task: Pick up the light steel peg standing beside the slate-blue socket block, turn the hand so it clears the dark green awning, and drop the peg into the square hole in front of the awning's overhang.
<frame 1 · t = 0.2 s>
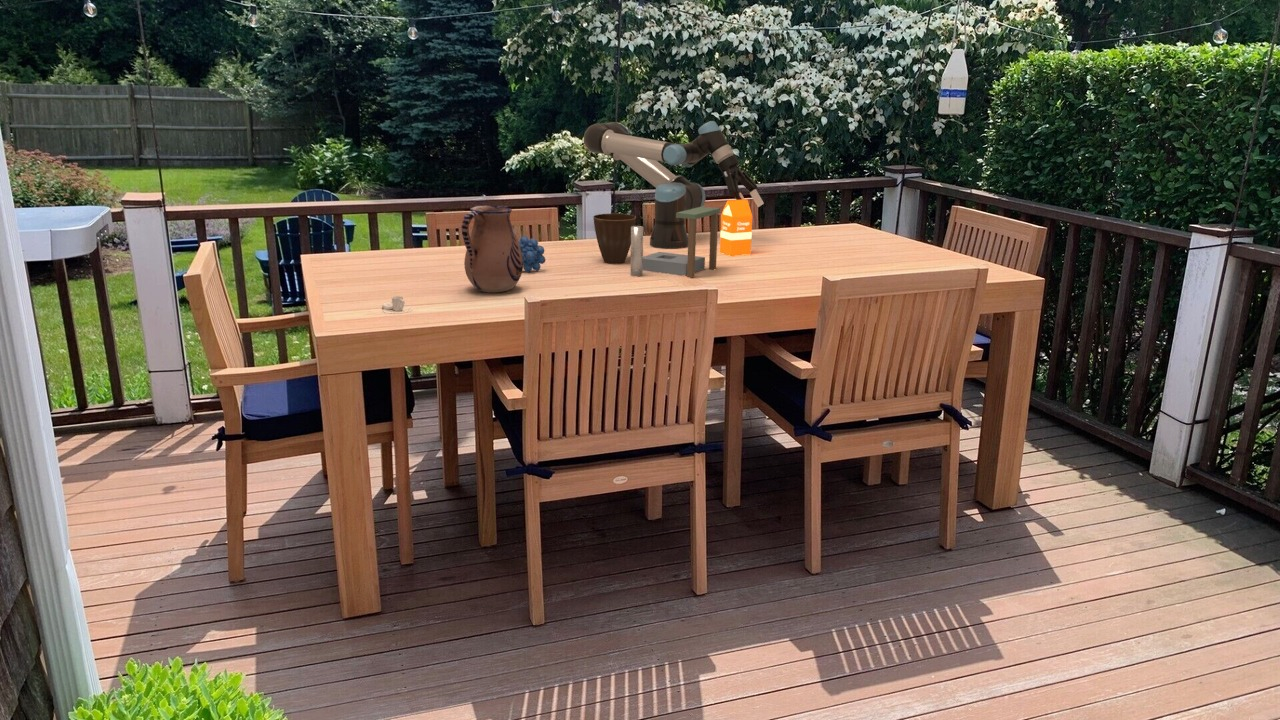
hand: (753, 207, 350), 15 cm above the table, tool tilted 35°, fingers open, 13 cm apart
plant pot: (614, 262, 325), on the table
steel peg: (636, 275, 304), on the table
teacup and saucer: (401, 309, 259), on the table
awning: (696, 272, 309), on the table
grapes: (529, 273, 306), on the table
socket block: (671, 269, 314), on the table
ceramic pitcher: (491, 291, 280), on the table
orange juice: (735, 254, 342), on the table
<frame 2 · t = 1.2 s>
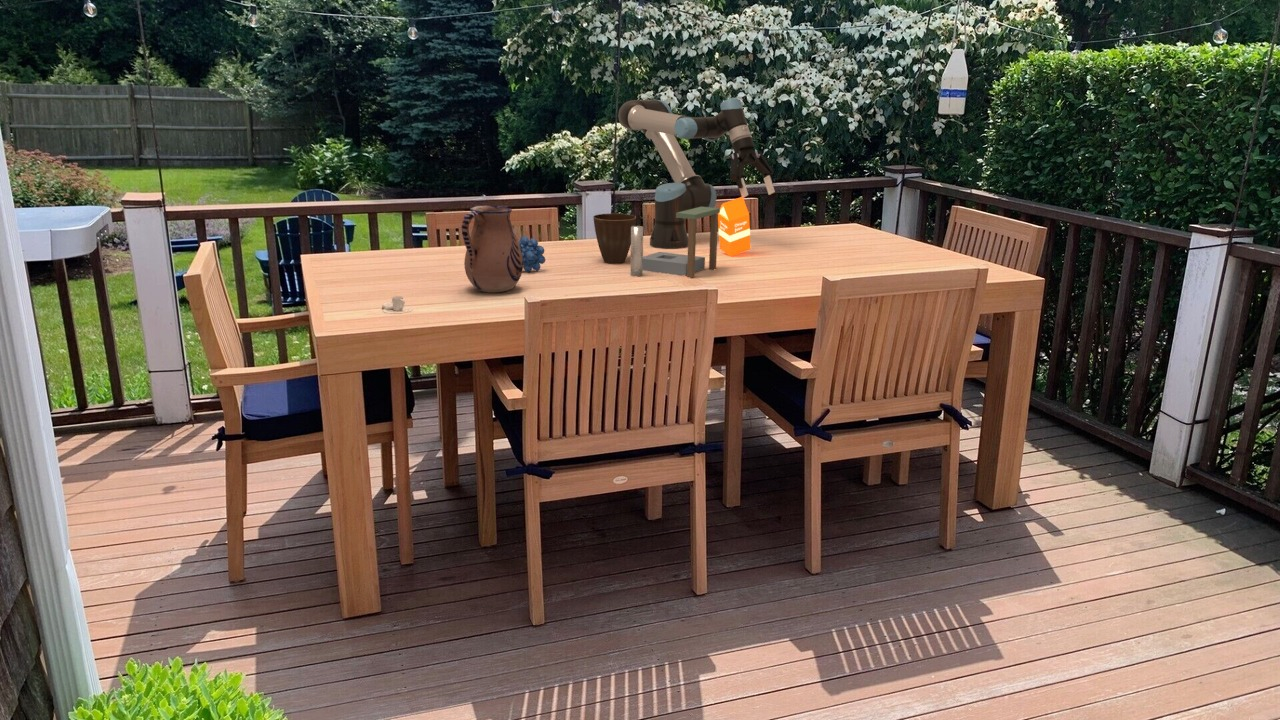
hand: (758, 195, 335), 22 cm above the table, tool tilted 30°, fingers open, 13 cm apart
orange juice: (735, 249, 342), point 2 cm above the table
everything else where it was.
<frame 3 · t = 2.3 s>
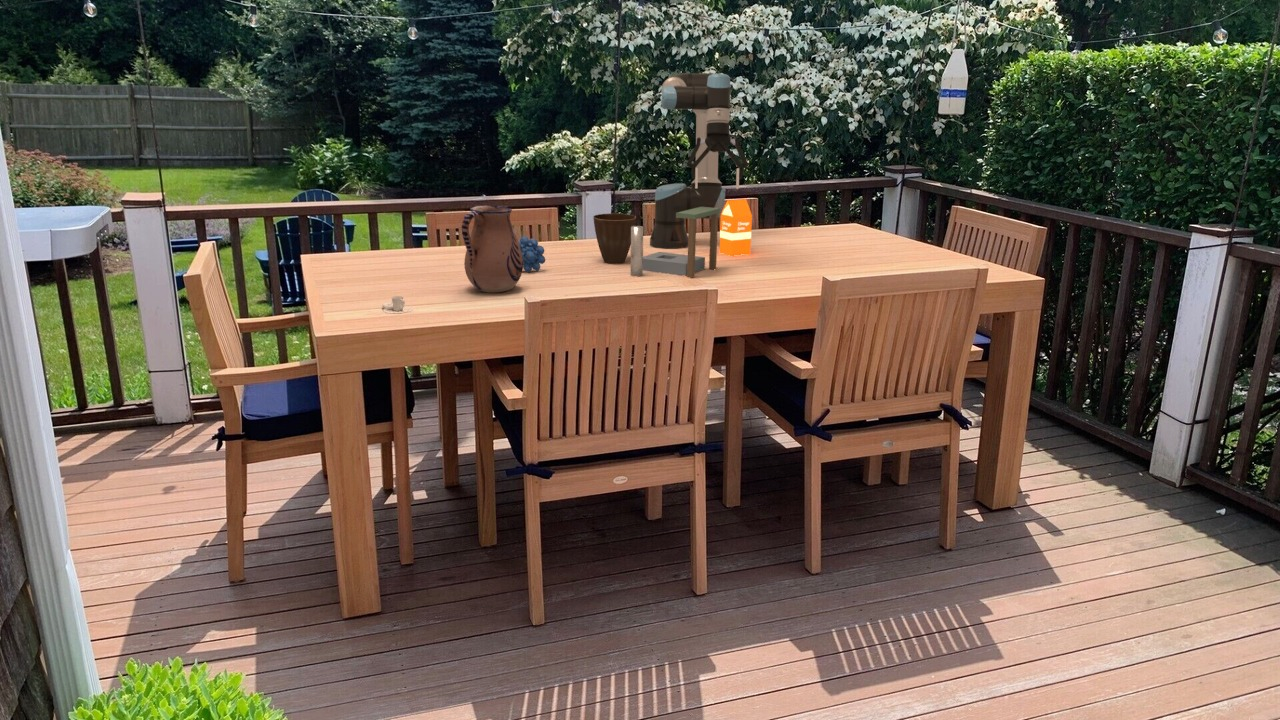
hand: (716, 188, 306), 27 cm above the table, tool pointing down, fingers open, 13 cm apart
orange juice: (734, 254, 343), on the table
everything else where it was.
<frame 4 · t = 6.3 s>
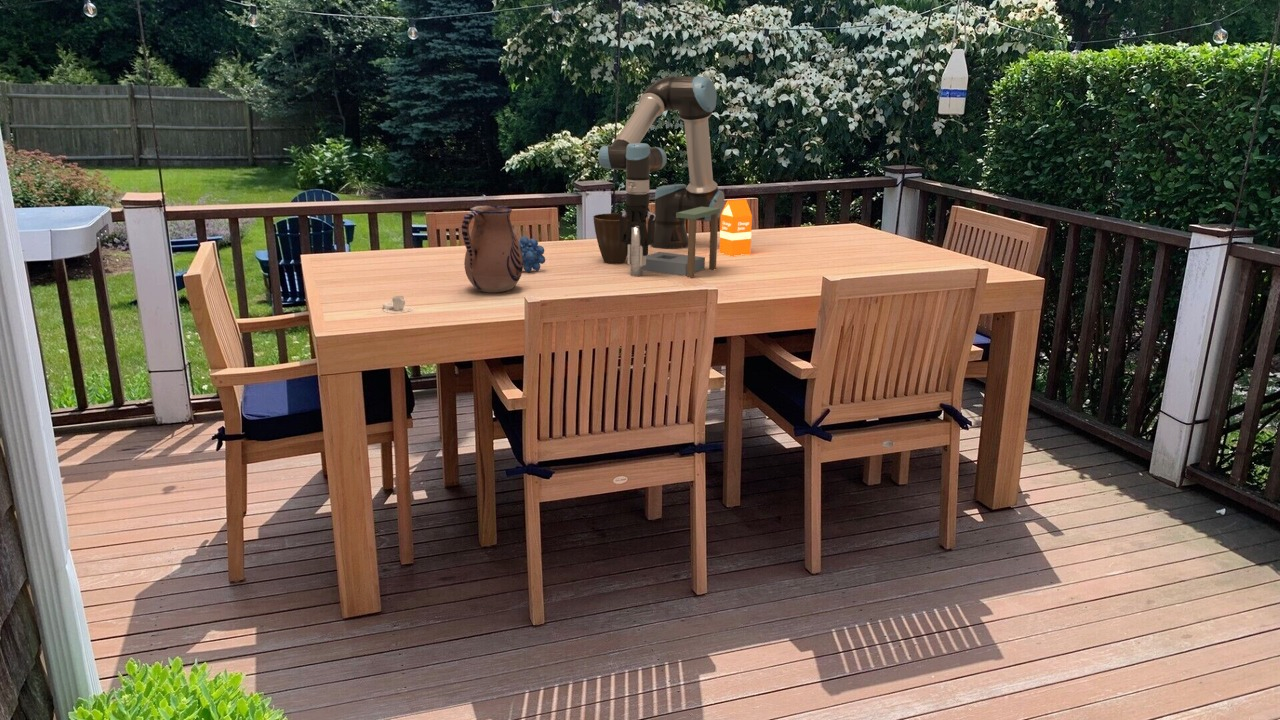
hand: (636, 264, 303), 4 cm above the table, tool pointing down, fingers closed on steel peg, 4 cm apart
steel peg: (636, 275, 304), on the table, touching gripper
everything else where it was.
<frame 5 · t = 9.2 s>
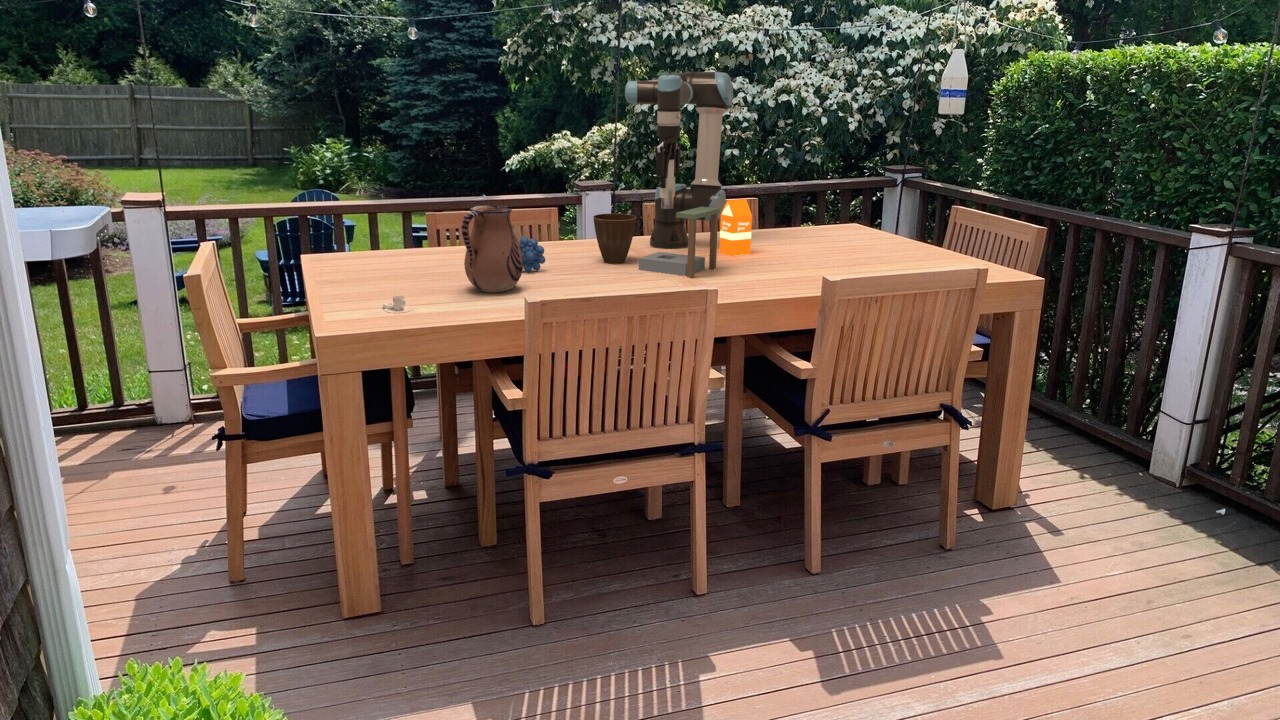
hand: (667, 197, 308), 24 cm above the table, tool pointing down, fingers closed on steel peg, 4 cm apart
steel peg: (667, 208, 309), point 21 cm above the table, touching gripper
everything else where it was.
when the fingers open (7 cm above the table, at t = 12.3 s): steel peg drops 2 cm, resting in socket block.
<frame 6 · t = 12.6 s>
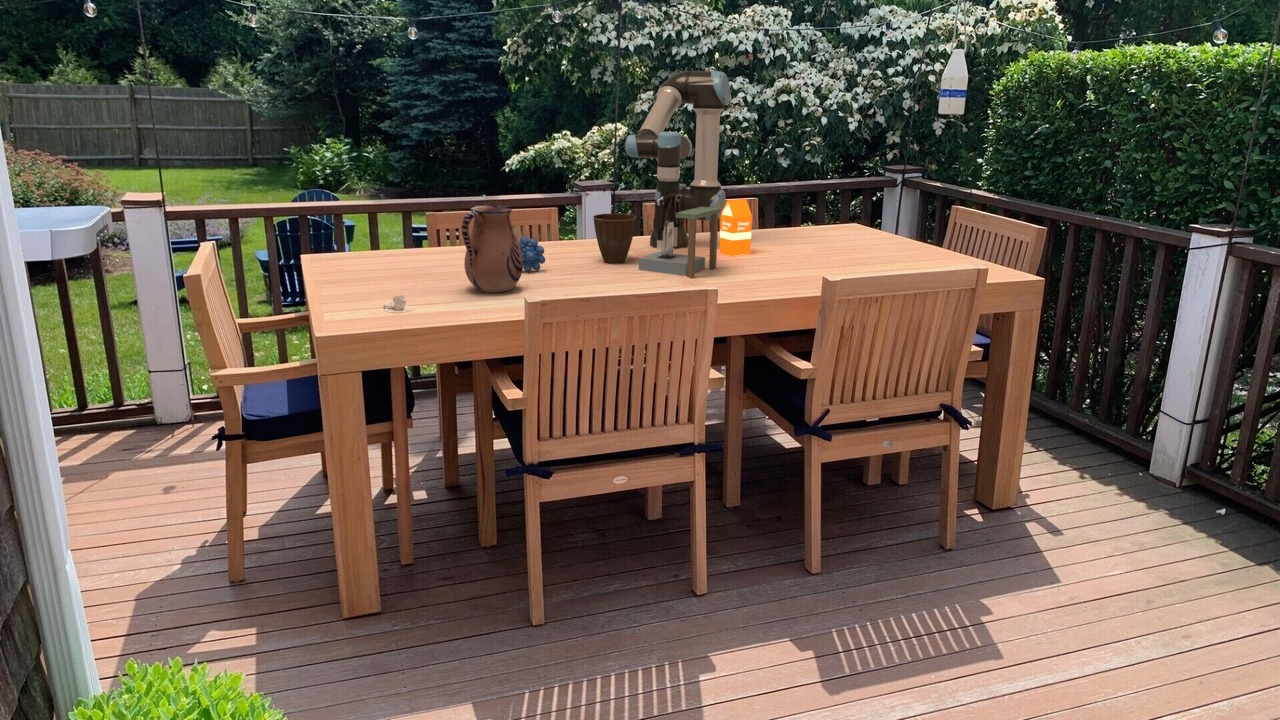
hand: (667, 247, 313), 7 cm above the table, tool pointing down, fingers open, 8 cm apart
steel peg: (666, 268, 315), resting in socket block
everything else where it was.
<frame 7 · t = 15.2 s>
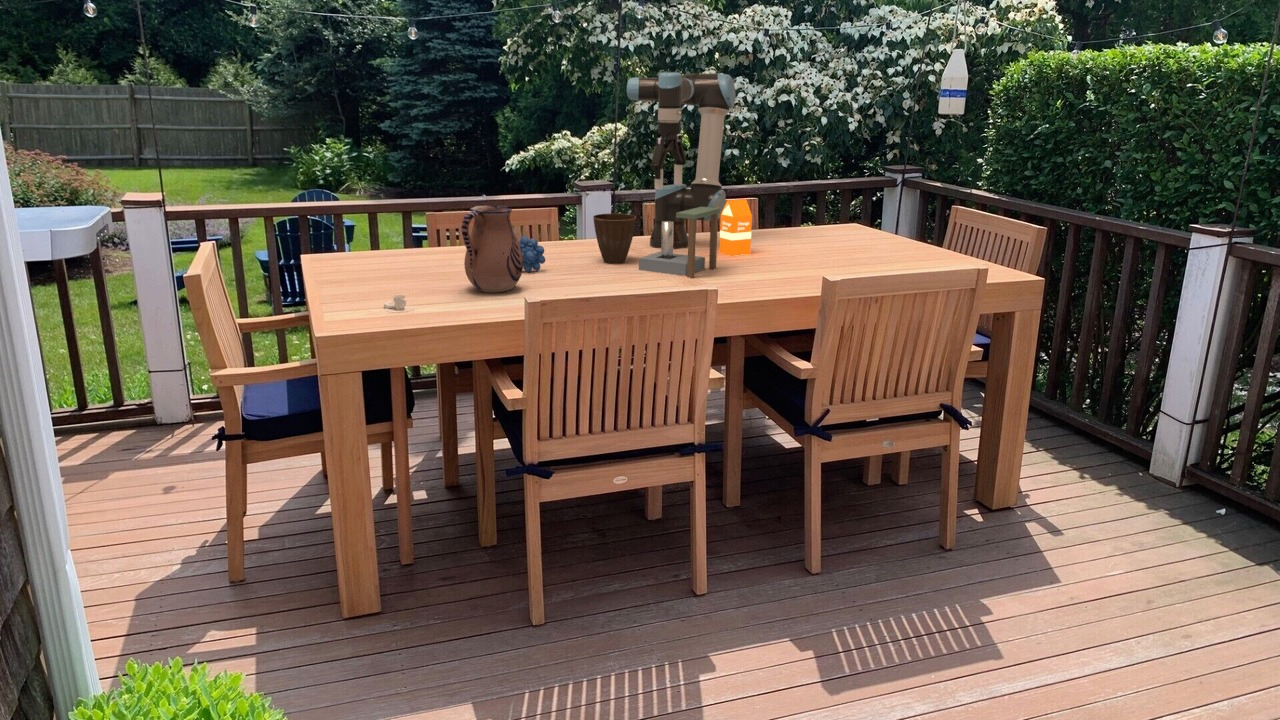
hand: (668, 186, 310), 27 cm above the table, tool pointing down, fingers open, 13 cm apart
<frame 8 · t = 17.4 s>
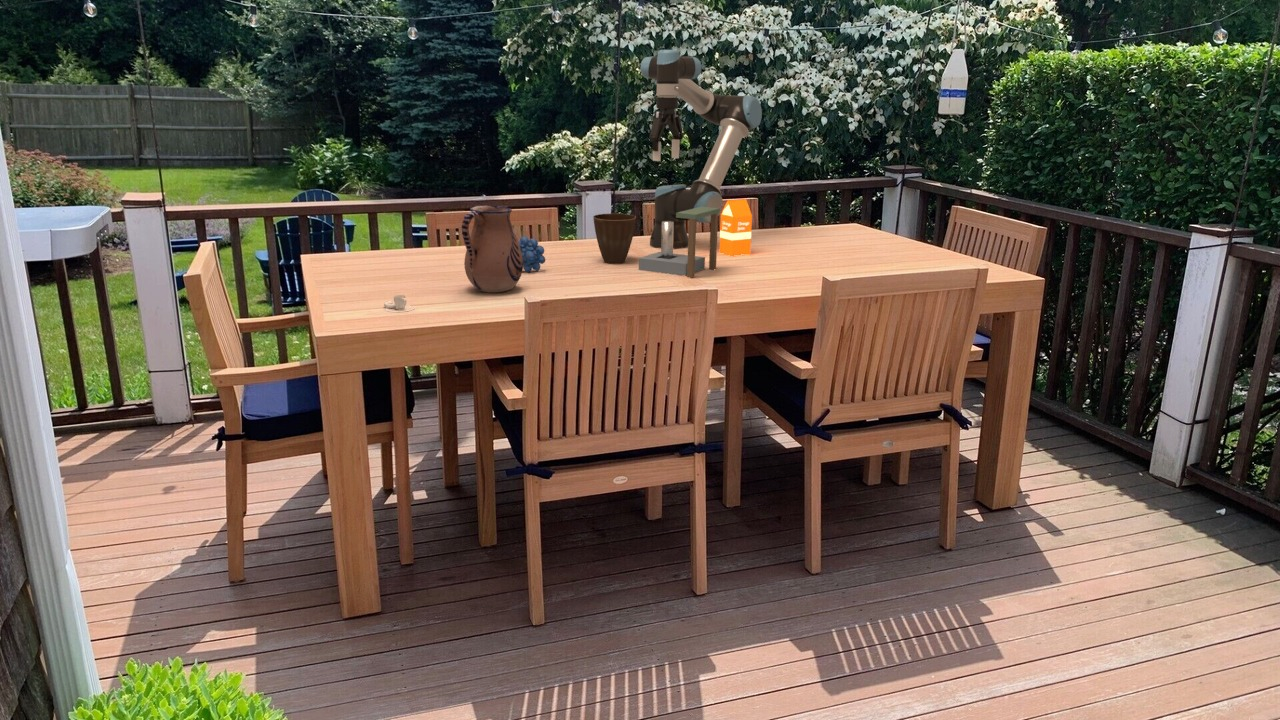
hand: (666, 159, 325), 35 cm above the table, tool pointing down, fingers open, 13 cm apart
at the end: steel peg 0.0 cm from the target spot on the socket block, point 0.0 cm above the socket block's base; steel peg tilted 0°; the gripper is holding nothing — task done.
